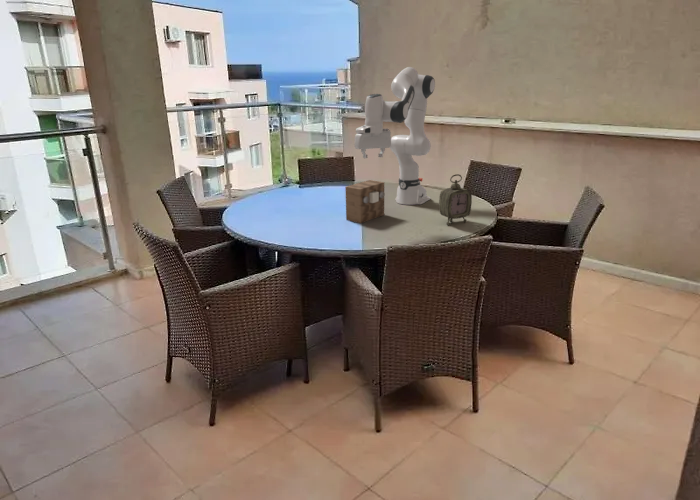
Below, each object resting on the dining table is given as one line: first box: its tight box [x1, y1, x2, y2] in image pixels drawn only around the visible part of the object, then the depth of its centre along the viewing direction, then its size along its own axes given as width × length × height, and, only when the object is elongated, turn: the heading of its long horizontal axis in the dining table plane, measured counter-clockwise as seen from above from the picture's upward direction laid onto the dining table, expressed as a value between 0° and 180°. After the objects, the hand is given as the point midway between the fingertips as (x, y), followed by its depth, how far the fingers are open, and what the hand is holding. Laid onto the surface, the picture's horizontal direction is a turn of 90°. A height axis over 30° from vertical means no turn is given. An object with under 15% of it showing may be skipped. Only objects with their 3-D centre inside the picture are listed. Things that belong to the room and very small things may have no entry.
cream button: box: [369, 191, 379, 203], centre depth 254 cm, size 5×4×5 cm
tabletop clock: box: [438, 174, 473, 226], centre depth 244 cm, size 14×9×25 cm, turn 115°
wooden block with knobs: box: [345, 179, 386, 224], centre depth 257 cm, size 20×12×18 cm, turn 138°
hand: (372, 157), depth 239 cm, fingers open, 8 cm apart
